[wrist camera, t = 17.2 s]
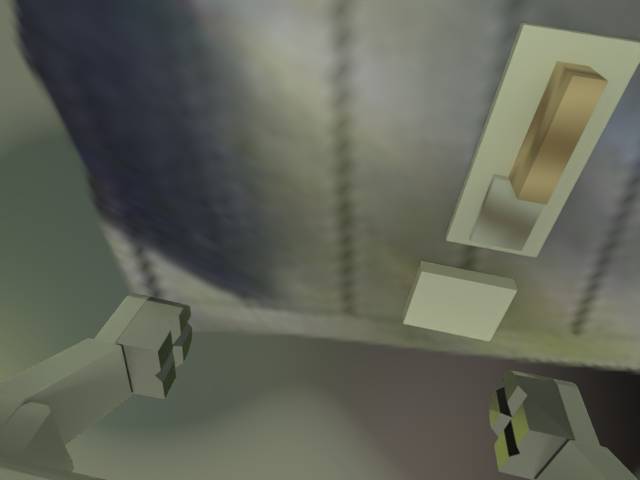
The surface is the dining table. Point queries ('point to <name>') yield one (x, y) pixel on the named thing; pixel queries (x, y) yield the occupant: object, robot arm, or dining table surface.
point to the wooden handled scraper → (539, 158)
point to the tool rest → (518, 111)
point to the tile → (458, 301)
